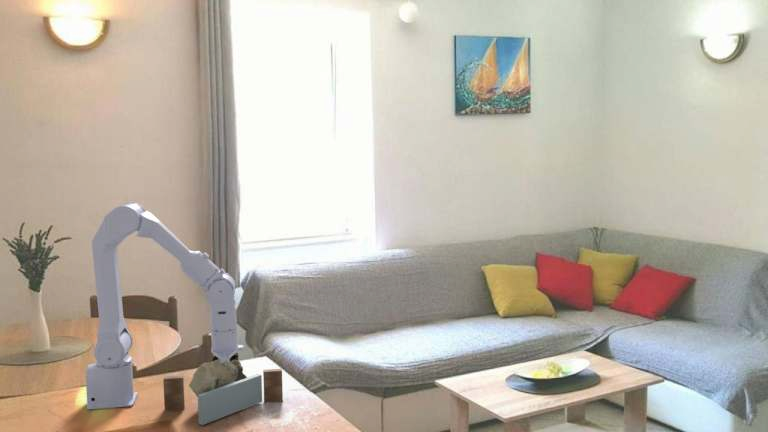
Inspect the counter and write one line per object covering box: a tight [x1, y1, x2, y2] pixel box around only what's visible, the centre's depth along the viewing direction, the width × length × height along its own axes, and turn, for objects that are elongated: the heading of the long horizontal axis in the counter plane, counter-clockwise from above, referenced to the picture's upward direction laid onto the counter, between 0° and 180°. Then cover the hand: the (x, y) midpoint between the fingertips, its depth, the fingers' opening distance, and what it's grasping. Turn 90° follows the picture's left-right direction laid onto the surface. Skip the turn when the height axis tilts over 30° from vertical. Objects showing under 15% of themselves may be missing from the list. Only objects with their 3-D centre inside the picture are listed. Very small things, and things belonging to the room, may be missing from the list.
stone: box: [188, 359, 248, 398], centre depth 156 cm, size 11×14×10 cm
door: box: [197, 373, 263, 426], centre depth 150 cm, size 16×1×6 cm, turn 142°
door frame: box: [162, 368, 284, 412], centre depth 156 cm, size 25×2×7 cm, turn 101°
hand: (227, 387), depth 162 cm, fingers closed, pressing on stone
